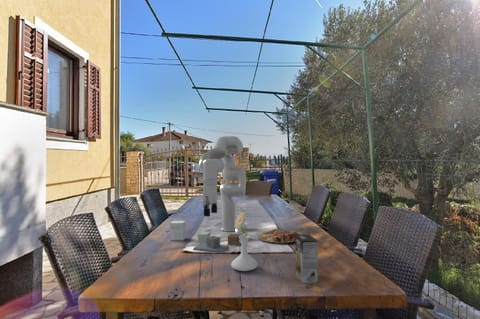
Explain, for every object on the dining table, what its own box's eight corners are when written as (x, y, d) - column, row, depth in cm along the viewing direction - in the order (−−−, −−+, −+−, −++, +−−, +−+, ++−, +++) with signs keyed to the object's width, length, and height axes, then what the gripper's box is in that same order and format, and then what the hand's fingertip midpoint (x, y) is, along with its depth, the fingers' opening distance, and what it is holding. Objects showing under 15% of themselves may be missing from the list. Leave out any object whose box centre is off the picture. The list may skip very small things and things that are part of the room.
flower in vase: (232, 263, 127) (231, 208, 127) (257, 263, 126) (256, 208, 126) (230, 275, 114) (229, 213, 114) (258, 275, 113) (257, 213, 113)
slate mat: (200, 244, 155) (200, 243, 155) (227, 247, 151) (227, 245, 151) (193, 249, 147) (193, 247, 147) (222, 252, 142) (222, 250, 142)
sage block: (202, 239, 166) (202, 231, 166) (210, 240, 165) (210, 232, 165) (198, 242, 160) (198, 233, 160) (206, 243, 159) (206, 234, 159)
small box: (186, 238, 170) (185, 220, 170) (183, 240, 164) (183, 222, 164) (173, 237, 171) (173, 220, 171) (170, 240, 165) (169, 222, 165)
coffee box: (295, 273, 115) (294, 234, 115) (310, 273, 115) (310, 233, 115) (301, 283, 106) (301, 240, 106) (318, 282, 106) (318, 239, 106)
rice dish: (250, 243, 163) (250, 233, 163) (268, 230, 187) (268, 222, 187) (297, 250, 150) (297, 239, 150) (310, 235, 174) (310, 226, 174)
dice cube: (206, 246, 148) (206, 237, 148) (213, 244, 152) (213, 235, 152) (212, 248, 145) (212, 239, 145) (220, 246, 149) (220, 237, 149)
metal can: (236, 237, 171) (236, 227, 171) (244, 237, 169) (244, 227, 169) (234, 239, 166) (234, 229, 166) (242, 240, 165) (242, 229, 165)
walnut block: (231, 242, 161) (231, 233, 161) (239, 242, 159) (239, 234, 159) (227, 245, 155) (227, 236, 155) (236, 245, 154) (236, 236, 154)
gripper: (210, 181, 158) (210, 211, 158) (196, 183, 142) (197, 217, 142) (222, 181, 156) (223, 211, 156) (210, 183, 140) (210, 218, 140)
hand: (210, 214), depth 149 cm, fingers open, 9 cm apart
